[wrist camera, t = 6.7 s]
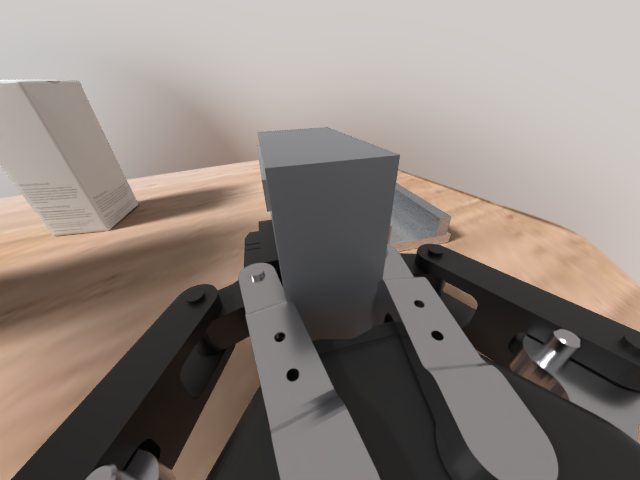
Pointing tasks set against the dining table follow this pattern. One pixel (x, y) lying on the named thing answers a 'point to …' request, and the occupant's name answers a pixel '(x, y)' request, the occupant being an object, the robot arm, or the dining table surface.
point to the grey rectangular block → (329, 224)
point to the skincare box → (61, 157)
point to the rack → (416, 222)
